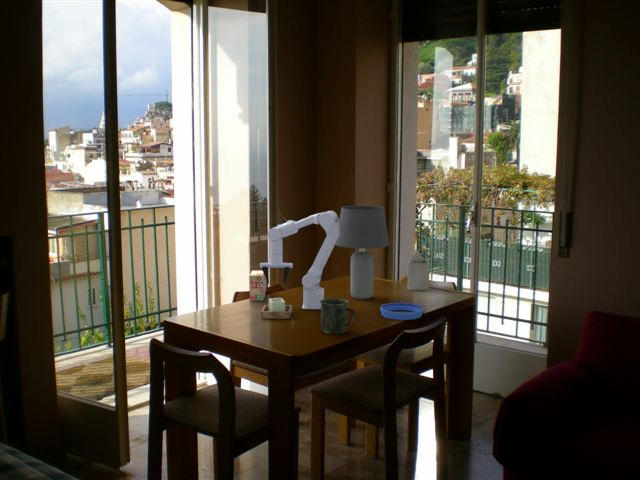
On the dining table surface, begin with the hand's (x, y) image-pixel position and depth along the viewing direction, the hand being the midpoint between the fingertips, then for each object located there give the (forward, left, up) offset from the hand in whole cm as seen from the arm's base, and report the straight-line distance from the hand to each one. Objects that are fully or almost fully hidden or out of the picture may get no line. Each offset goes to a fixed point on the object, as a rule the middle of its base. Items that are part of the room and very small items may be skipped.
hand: (276, 283), depth 310 cm
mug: (-28, +44, -10) cm, 53 cm away
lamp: (-39, -17, -10) cm, 44 cm away
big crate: (-2, +19, -10) cm, 22 cm away
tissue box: (-70, -39, -10) cm, 81 cm away
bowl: (-55, +16, -10) cm, 58 cm away
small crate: (-2, +19, -9) cm, 21 cm away
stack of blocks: (+11, -19, -10) cm, 24 cm away
